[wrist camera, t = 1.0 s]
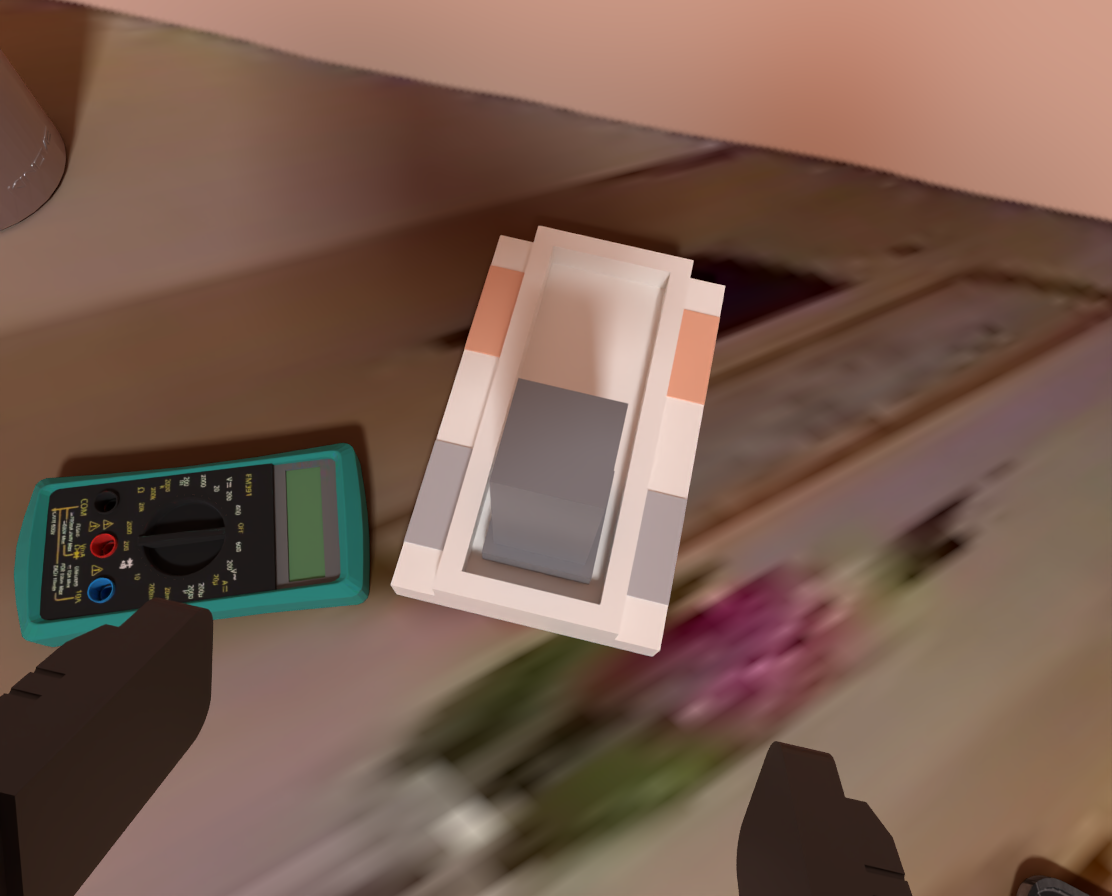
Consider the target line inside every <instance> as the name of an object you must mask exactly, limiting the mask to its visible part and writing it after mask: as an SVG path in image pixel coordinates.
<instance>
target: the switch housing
mask: <svg viewBox="0 0 1112 896" xmlns="http://www.w3.org/2000/svg"><path fill="white" fill-rule="evenodd" d="M693 261H694V260H689V259H685V258H680V257H676V256H672V255H667V254H663V253H658V252H654V251H650V250H645V249H641V248H636V247H632V246H627V245H623V244H619V243H614V242H610V241H605V240H601V239H596V238H592V237H588V236H583V235H579V234H574V233H570V232H565V231H561V230H557V229H552V228H548V227H543V226H538V229H537V232H536V236H535V239H534V242H529V241H525V240H520V239H516V238H512V237H507V236H503V235H500V238H499V241H498V244H497V248H496V251H495V254H494V257H493V260H492V264H491V265H490V269H489V272H488V275H487V278H486V281H485V285H484V288H483V291H482V294H481V297H480V300H479V304H478V307H477V310H476V313H475V316H474V320H473V323H472V326H471V329H470V332H469V335H468V339H467V342H466V345H465V348H464V349H465V350H464V353H463V356H462V359H461V362H460V365H459V369H458V372H457V375H456V378H455V381H454V385H453V388H452V391H451V394H450V397H449V401H448V404H447V407H446V410H445V413H444V416H443V420H442V423H441V426H440V429H439V432H438V436H437V439H436V441H435V444H434V447H433V450H432V453H431V456H430V460H429V463H428V466H427V469H426V472H425V476H424V479H423V482H422V485H421V488H420V491H419V495H418V498H417V501H416V504H415V507H414V511H413V514H412V517H411V520H410V523H409V527H408V530H407V533H406V536H405V539H404V544H403V547H402V550H401V553H400V557H399V560H398V563H397V566H396V569H395V573H394V576H393V579H392V582H391V586H392V588H393V589H394V591H395V592H396V594H398V595H402V596H406V597H410V598H414V599H418V600H422V601H427V602H431V603H435V604H439V605H443V606H447V607H451V608H455V609H459V610H463V611H467V612H472V613H476V614H480V615H484V616H488V617H492V618H496V619H500V620H504V621H508V622H512V623H517V624H521V625H525V626H529V627H533V628H537V629H541V630H545V631H549V632H553V633H557V634H562V635H566V636H570V637H574V638H578V639H582V640H586V641H590V642H594V643H598V644H602V645H607V646H611V647H615V648H619V649H623V650H627V651H631V652H635V653H639V654H643V655H647V656H652V657H653V656H654V655H655V654H656V653H658V652H659V651H660V647H661V642H662V636H663V631H664V625H665V619H666V614H667V608H668V605H669V599H670V593H671V588H672V582H673V577H674V571H675V566H676V560H677V554H678V549H679V543H680V538H681V532H682V526H683V521H684V515H685V510H686V504H687V497H688V491H689V486H690V480H691V474H692V469H693V463H694V458H695V452H696V447H697V441H698V435H699V430H700V424H701V419H702V413H703V408H704V404H705V398H706V393H707V387H708V381H709V376H710V370H711V365H712V359H713V353H714V348H715V342H716V337H717V331H718V326H719V320H720V313H721V307H722V302H723V296H724V290H725V286H723V285H719V284H714V283H710V282H706V281H701V280H697V279H692V278H690V276H691V271H692V266H693ZM518 378H521V379H525V380H529V381H534V382H538V383H542V384H546V385H551V386H555V387H559V388H564V389H568V390H572V391H576V392H581V393H585V394H589V395H594V396H598V397H602V398H606V399H611V400H615V401H619V402H624V403H628V408H627V412H626V417H625V422H624V426H623V431H622V435H621V440H620V444H619V449H618V454H617V458H616V463H615V467H614V471H615V473H614V477H613V482H612V487H611V491H610V496H609V500H608V505H607V510H606V514H605V519H604V523H603V528H602V532H601V537H600V542H599V546H598V551H597V555H596V560H595V564H594V569H593V574H592V578H591V581H590V583H589V585H588V584H584V583H580V582H576V581H572V580H567V579H563V578H559V577H555V576H551V575H547V574H543V573H539V572H534V571H530V570H526V569H522V568H518V567H514V566H510V565H505V564H501V563H497V562H493V561H489V560H485V559H482V549H483V545H484V542H485V538H486V534H487V531H488V527H489V523H490V520H491V516H492V513H491V499H490V485H489V480H490V477H491V473H492V470H493V466H494V463H495V459H496V456H497V452H498V448H499V445H500V441H501V438H502V434H503V431H504V427H505V423H506V420H507V416H508V413H509V409H510V406H511V402H512V399H513V395H514V391H515V388H516V384H517V381H518Z"/></svg>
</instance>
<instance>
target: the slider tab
mask: <svg viewBox="0 0 1112 896" xmlns="http://www.w3.org/2000/svg"><path fill="white" fill-rule="evenodd" d="M627 408H628V403H624V402H619V401H615V400H611V399H606V398H602V397H598V396H594V395H589V394H585V393H581V392H576V391H572V390H568V389H564V388H559V387H555V386H551V385H546V384H542V383H538V382H534V381H529V380H525V379H521V378H518V381H517V384H516V388H515V391H514V395H513V399H512V402H511V406H510V409H509V413H508V416H507V420H506V423H505V427H504V431H503V434H502V438H501V441H500V445H499V448H498V452H497V456H496V459H495V463H494V466H493V470H492V473H491V477H490V480H489V485H490V499H491V513H492V516H491V520H490V523H489V527H488V531H487V534H486V538H485V542H484V545H483V549H482V559H485V560H489V561H493V562H497V563H501V564H505V565H510V566H514V567H518V568H522V569H526V570H530V571H534V572H539V573H543V574H547V575H551V576H555V577H559V578H563V579H567V580H572V581H576V582H580V583H584V584H588V585H589V583H590V581H591V578H592V574H593V569H594V564H595V560H596V555H597V551H598V546H599V542H600V537H601V532H602V528H603V523H604V519H605V514H606V510H607V505H608V500H609V496H610V491H611V487H612V482H613V477H614V473H615V471H614V467H615V463H616V458H617V454H618V449H619V444H620V440H621V435H622V431H623V426H624V422H625V417H626V412H627Z"/></svg>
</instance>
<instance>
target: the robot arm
mask: <svg viewBox="0 0 1112 896" xmlns="http://www.w3.org/2000/svg"><path fill="white" fill-rule="evenodd" d="M65 162H66V152H65V144H64V142H63V140H62V137H61V135H60V133H59V131H58V130H57V128H56V127H55V126H54V124H53V123H52V121H51V120H50V119H49V117H48V116H47V114H46V113H45V112H44V110H43V109H42V107H41V106H40V104H39V103H38V102H37V100H36V99H35V97H34V96H33V95H32V93H31V92H30V90H29V89H28V88H27V86H26V85H25V83H24V82H23V80H22V79H21V77H20V76H19V74H18V73H17V71H16V70H15V69H14V67H13V66H12V64H11V63H10V62H9V60H8V59H7V57H6V56H5V54H4V53H3V52H2V50H1V49H0V230H2V229H5V228H7V227H9V226H11V225H14V224H16V223H18V222H20V221H21V220H23V219H24V218H26V217H27V216H29V215H31V214H32V213H34V212H35V211H36V210H37V209H38V208H39V207H40V206H41V205H42V204H44V203H45V202H46V201H47V200H48V199H49V197H50V196H51V194H52V193H53V192H54V190H55V189H56V188H57V186H58V184H59V182H60V180H61V177H62V175H63V173H64V168H65ZM212 649H213V616H212V613H211V612H210V610H208V609H206V608H202V607H198V606H193V605H189V604H184V603H180V602H176V601H171V600H167V599H163V598H157V597H156V598H153V599H151V600H149V601H148V602H146V603H145V604H144V605H143V606H142V607H141V608H139V609H138V610H137V611H136V612H135V613H134V614H133V615H132V616H130V617H129V618H128V619H127V620H126V621H125V622H124V623H123V624H122V625H120V626H119V627H117V626H112V625H108V624H105V625H102V626H100V627H98V628H96V629H94V630H91V631H89V632H87V633H85V634H83V635H80V636H78V637H76V638H74V639H72V640H69V641H67V642H65V643H64V644H63V645H62V646H61V647H59V648H58V649H57V650H56V651H55V652H53V653H52V654H51V655H50V656H49V657H47V658H46V659H45V660H44V661H43V662H41V663H40V664H39V665H38V666H37V667H36V670H35V672H34V673H32V672H30V673H28V674H27V675H26V676H25V677H24V678H22V679H21V680H20V681H19V682H18V683H16V684H15V685H14V686H13V687H12V688H11V691H10V693H9V694H5V693H4V694H3V695H2V696H1V697H0V896H74V895H75V894H76V892H77V891H78V890H79V888H80V887H81V886H82V885H83V883H84V882H85V881H86V879H87V878H88V877H89V876H90V874H91V873H92V872H93V870H94V869H95V868H96V867H97V865H98V864H99V863H100V861H101V860H102V859H103V858H104V856H105V855H106V854H107V852H108V851H109V850H110V849H111V847H112V846H113V845H114V844H115V842H116V841H117V840H118V838H119V837H120V836H121V835H122V833H123V832H124V831H125V829H126V828H127V827H128V826H129V824H130V823H131V822H132V820H133V819H134V818H135V817H136V815H137V814H138V813H139V811H140V810H141V809H142V808H143V806H144V805H145V804H146V802H147V801H148V800H149V799H150V797H151V796H152V795H153V794H154V792H155V791H156V790H157V788H158V787H159V786H160V785H161V783H162V782H163V781H164V779H165V778H166V777H167V776H168V774H169V773H170V772H171V770H172V769H173V768H174V767H175V765H176V764H177V763H178V761H179V760H180V759H181V758H182V756H183V755H184V754H185V752H186V751H187V750H188V749H189V747H190V746H191V745H192V743H193V742H194V741H195V739H196V738H197V736H198V734H199V732H200V730H201V728H202V726H203V724H204V722H205V719H206V716H207V713H208V710H209V705H210V700H211V682H212ZM904 875H905V873H904V870H903V867H902V864H901V861H900V858H899V855H898V852H897V849H896V846H895V843H894V840H893V837H892V836H891V835H890V833H889V832H888V831H887V829H886V828H885V827H884V825H883V824H882V823H881V821H880V820H879V819H878V817H877V816H876V815H875V813H874V812H873V811H872V809H871V808H870V807H869V805H868V804H867V803H866V802H863V801H858V800H854V799H850V798H845V796H844V792H843V789H842V785H841V782H840V778H839V775H838V771H837V768H836V764H835V761H834V759H833V757H832V756H831V755H830V754H829V753H825V752H821V751H817V750H812V749H808V748H804V747H799V746H795V745H790V744H786V743H782V742H777V741H775V742H773V743H772V745H771V746H770V748H769V750H768V752H767V755H766V758H765V760H764V763H763V766H762V769H761V772H760V774H759V777H758V780H757V783H756V786H755V788H754V791H753V794H752V797H751V800H750V802H749V805H748V808H747V811H746V814H745V816H744V819H743V822H742V826H741V830H740V834H739V840H738V848H737V880H738V889H739V896H912V894H911V891H910V888H909V885H908V882H907V881H905V880H904Z"/></svg>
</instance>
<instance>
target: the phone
mask: <svg viewBox="0 0 1112 896" xmlns="http://www.w3.org/2000/svg"><path fill="white" fill-rule="evenodd" d="M1016 896H1089V895H1088V894H1086V893H1084V892H1082V891H1080V890H1078V889H1076V888H1074V887H1073V886H1071V885H1069V884H1067V883H1065V882H1063V881H1061V880H1058V879H1055V878H1051V877H1046V876H1032V877H1029V878H1027V879H1026V880H1025V881H1024V882H1023V883H1022V884H1021V885H1020V887H1019V889H1018V892H1017V895H1016Z"/></svg>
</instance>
